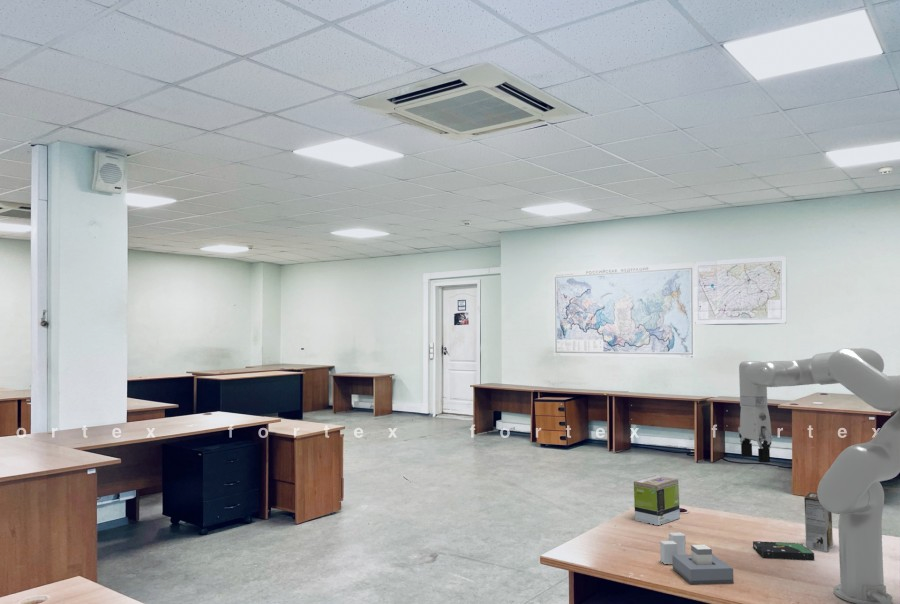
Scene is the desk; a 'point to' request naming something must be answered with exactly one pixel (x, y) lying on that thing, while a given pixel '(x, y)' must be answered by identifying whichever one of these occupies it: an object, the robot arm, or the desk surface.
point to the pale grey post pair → (672, 547)
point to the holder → (703, 570)
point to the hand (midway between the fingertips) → (755, 459)
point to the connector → (701, 554)
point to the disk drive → (783, 550)
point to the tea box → (656, 500)
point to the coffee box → (817, 524)
